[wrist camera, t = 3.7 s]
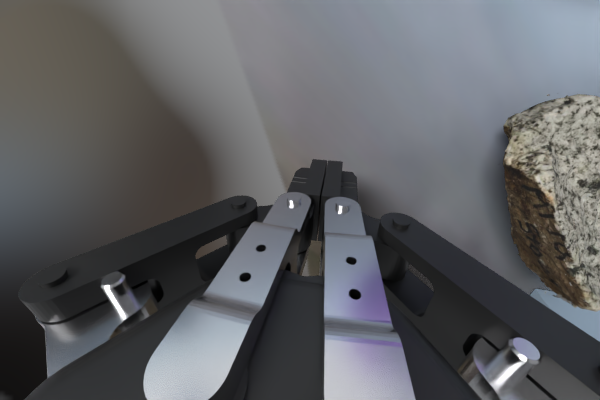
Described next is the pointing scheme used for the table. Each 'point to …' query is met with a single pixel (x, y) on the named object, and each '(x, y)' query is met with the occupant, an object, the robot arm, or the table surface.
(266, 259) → the robot arm
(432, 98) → the table surface
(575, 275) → the rock sample
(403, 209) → the table surface
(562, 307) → the box
